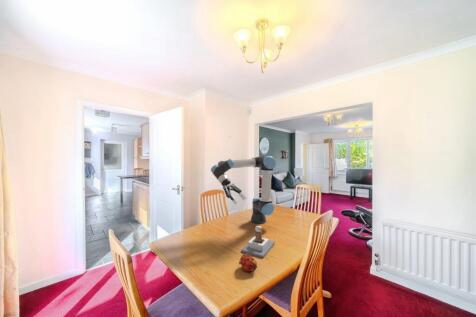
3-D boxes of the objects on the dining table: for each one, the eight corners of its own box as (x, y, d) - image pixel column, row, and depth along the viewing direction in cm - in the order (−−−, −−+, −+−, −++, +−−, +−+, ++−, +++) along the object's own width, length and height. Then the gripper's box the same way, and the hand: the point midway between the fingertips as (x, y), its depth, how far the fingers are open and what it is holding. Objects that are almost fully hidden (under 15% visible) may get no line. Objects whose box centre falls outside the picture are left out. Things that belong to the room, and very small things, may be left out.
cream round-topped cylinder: (257, 243, 133) (256, 225, 133) (262, 245, 131) (262, 226, 131) (254, 246, 129) (254, 227, 129) (260, 247, 127) (260, 228, 127)
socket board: (254, 239, 143) (254, 232, 143) (274, 243, 135) (274, 237, 135) (241, 251, 124) (241, 244, 124) (263, 258, 116) (263, 250, 116)
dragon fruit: (240, 266, 110) (256, 278, 102) (233, 263, 105) (248, 276, 96) (247, 252, 113) (263, 263, 105) (240, 249, 107) (256, 260, 99)
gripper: (229, 182, 163) (245, 200, 156) (212, 186, 141) (229, 208, 134) (234, 176, 160) (250, 195, 153) (218, 179, 139) (235, 201, 131)
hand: (240, 201), depth 144 cm, fingers open, 13 cm apart
